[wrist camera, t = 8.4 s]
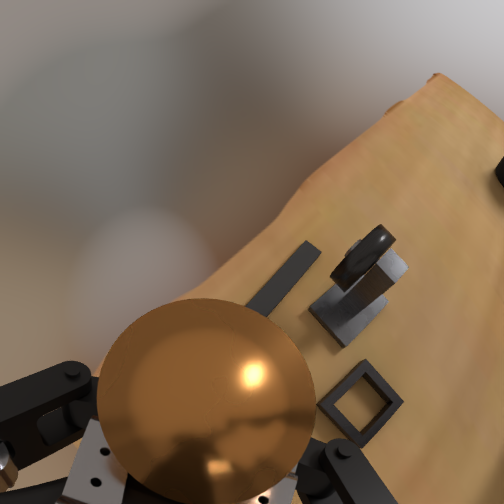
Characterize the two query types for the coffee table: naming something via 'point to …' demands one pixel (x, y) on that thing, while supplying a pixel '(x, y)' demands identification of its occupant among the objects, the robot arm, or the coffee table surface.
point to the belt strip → (284, 279)
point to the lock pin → (206, 402)
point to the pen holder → (500, 171)
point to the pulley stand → (359, 286)
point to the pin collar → (343, 386)
